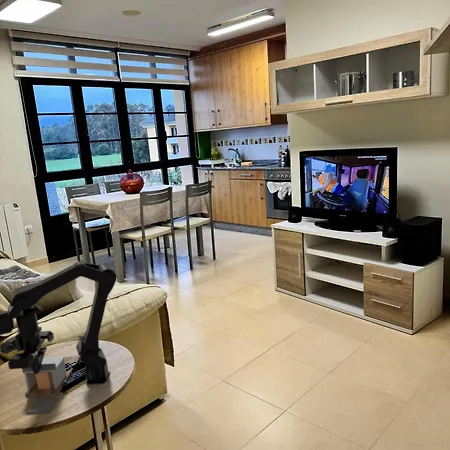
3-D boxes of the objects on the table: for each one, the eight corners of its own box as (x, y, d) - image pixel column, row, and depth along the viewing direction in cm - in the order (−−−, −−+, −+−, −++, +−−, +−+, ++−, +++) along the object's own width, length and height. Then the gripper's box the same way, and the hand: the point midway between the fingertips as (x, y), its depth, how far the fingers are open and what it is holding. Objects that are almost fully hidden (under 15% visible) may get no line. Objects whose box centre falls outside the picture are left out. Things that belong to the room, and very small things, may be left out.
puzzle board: (81, 358, 156) (81, 355, 156) (57, 394, 135) (56, 391, 135) (53, 359, 157) (53, 357, 157) (25, 396, 135) (24, 393, 135)
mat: (58, 398, 133) (58, 396, 133) (49, 412, 126) (49, 411, 126) (37, 399, 133) (36, 397, 133) (26, 413, 126) (26, 412, 126)
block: (57, 381, 142) (54, 364, 141) (50, 390, 137) (47, 372, 136) (45, 382, 143) (42, 364, 141) (38, 391, 138) (35, 373, 136)
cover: (68, 374, 144) (64, 351, 142) (58, 389, 136) (53, 365, 134) (38, 376, 144) (33, 353, 142) (26, 391, 136) (21, 367, 134)
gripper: (17, 316, 139) (25, 359, 143) (-15, 344, 121) (-5, 392, 124) (50, 314, 139) (58, 357, 142) (23, 342, 121) (33, 390, 124)
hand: (36, 373), depth 133 cm, fingers closed
